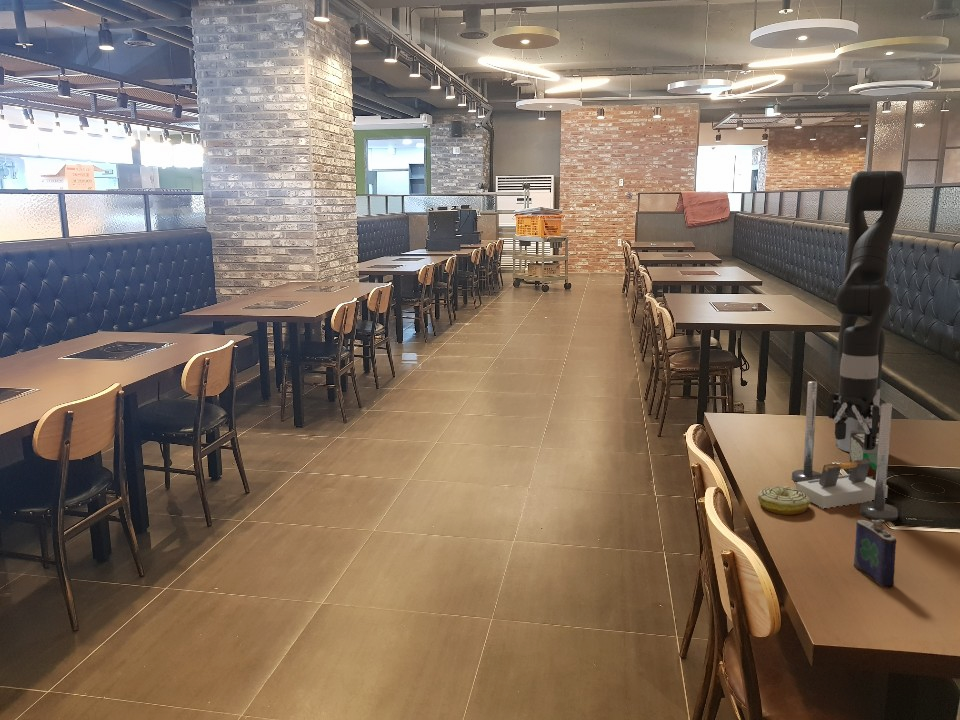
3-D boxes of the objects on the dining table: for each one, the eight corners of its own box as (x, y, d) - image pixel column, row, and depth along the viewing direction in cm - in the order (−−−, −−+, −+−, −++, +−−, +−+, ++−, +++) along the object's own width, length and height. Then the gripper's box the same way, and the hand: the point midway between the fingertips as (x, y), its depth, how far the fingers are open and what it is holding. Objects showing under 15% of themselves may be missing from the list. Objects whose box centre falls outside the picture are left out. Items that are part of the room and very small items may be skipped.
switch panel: (795, 494, 169) (796, 481, 169) (856, 485, 174) (857, 472, 173) (823, 509, 161) (824, 495, 160) (886, 498, 165) (887, 485, 165)
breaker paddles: (818, 483, 166) (824, 465, 164) (860, 477, 169) (865, 458, 167) (823, 487, 164) (828, 468, 162) (865, 481, 167) (870, 462, 165)
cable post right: (852, 511, 159) (859, 401, 155) (879, 506, 161) (887, 398, 156) (877, 523, 153) (886, 409, 148) (905, 518, 155) (914, 406, 150)
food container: (890, 486, 172) (893, 445, 170) (861, 485, 174) (864, 444, 172) (873, 468, 184) (876, 430, 182) (847, 467, 185) (849, 429, 183)
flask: (850, 564, 136) (854, 510, 134) (864, 563, 136) (869, 509, 134) (883, 589, 127) (888, 531, 125) (899, 587, 127) (904, 530, 125)
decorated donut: (816, 506, 163) (817, 490, 163) (799, 521, 156) (800, 504, 155) (769, 495, 170) (770, 479, 170) (750, 509, 163) (751, 493, 162)
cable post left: (785, 477, 180) (789, 380, 175) (809, 474, 182) (814, 377, 177) (805, 487, 174) (810, 386, 169) (829, 483, 175) (835, 383, 171)
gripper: (898, 378, 157) (893, 451, 160) (848, 366, 170) (844, 433, 173) (869, 381, 155) (864, 455, 158) (821, 369, 168) (817, 437, 171)
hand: (854, 444), depth 165 cm, fingers open, 8 cm apart
